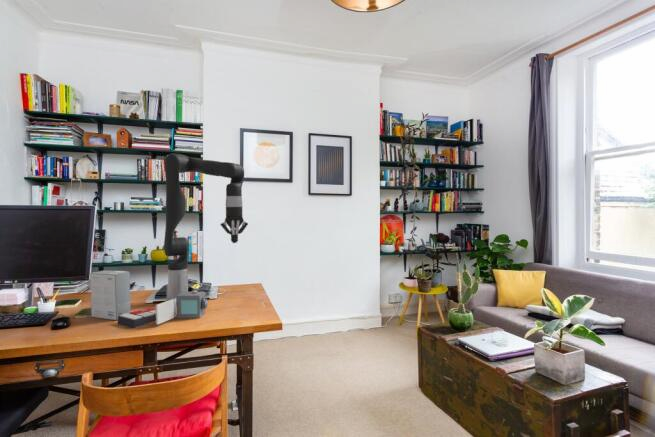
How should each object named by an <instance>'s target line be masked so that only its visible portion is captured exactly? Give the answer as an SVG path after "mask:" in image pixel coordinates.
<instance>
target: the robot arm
mask: <svg viewBox="0 0 655 437" xmlns="http://www.w3.org/2000/svg"><path fill="white" fill-rule="evenodd" d="M164 159H165V160H164V172H165V173H164V174H165V192H166V195H165V232H164V241H163V251H164V252H163V253H164V255H165V256H166V257H176V256H177V257H178V258H176V260H173V261H171V262H170V263H168V265H167V281H168V282H167V284H166V301H169V300H172V299H175V298H176V305H177V297H176V296H177V295H179V294H180V293H182V292H189V277H188V275H189V272H188V268H189V267H188V264H189V263H188V262H189V241H188V239H187V237H184V236H182V237H174V235H175V231H176V228H177V227H178V225H179V224H180V222H181V221H182V220H183V218H184V216H185V214H186V212H187V198H186V195H185V193H184V191H183V189H182V187H181V184H180V174H183V173H201V174H204V175H208V176H214V177H215V176H216V177H223V178H228V179H230V183H228V184H226V189H225V193H226V194H225V218H224V221H223V222H221V223H220V226H221V228H222V229H223V230H224V231H225V232H226V233H227V234H228V235H230V241H231V243H232V244H237V243H238V241H239V235H240V234H242V233H243V232H244V230H245V229H247V226H248V225H249V223H248V222H246V221H245V220H244V218H243V197H242V196H243V195H242V190H243V189H242V187H243V183H244V178H245V169H244V167H243V166H242V165H241V164H239V163H235V162H227V161H226V162H225V161H217V160H209V159H198V158H193V157H191V156H189V155H185V154H182V153H181V154H180V153H168V154H167V155H166V157H165V158H164ZM227 226H228V227H229V228H228V227H227Z"/></svg>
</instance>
